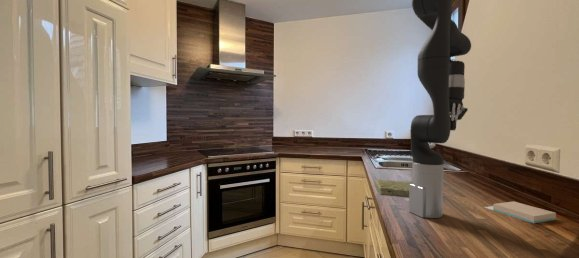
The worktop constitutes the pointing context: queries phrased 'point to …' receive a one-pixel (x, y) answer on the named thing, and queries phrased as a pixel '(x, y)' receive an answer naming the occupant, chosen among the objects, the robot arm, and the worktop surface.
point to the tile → (524, 212)
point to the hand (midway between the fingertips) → (451, 130)
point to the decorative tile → (393, 187)
